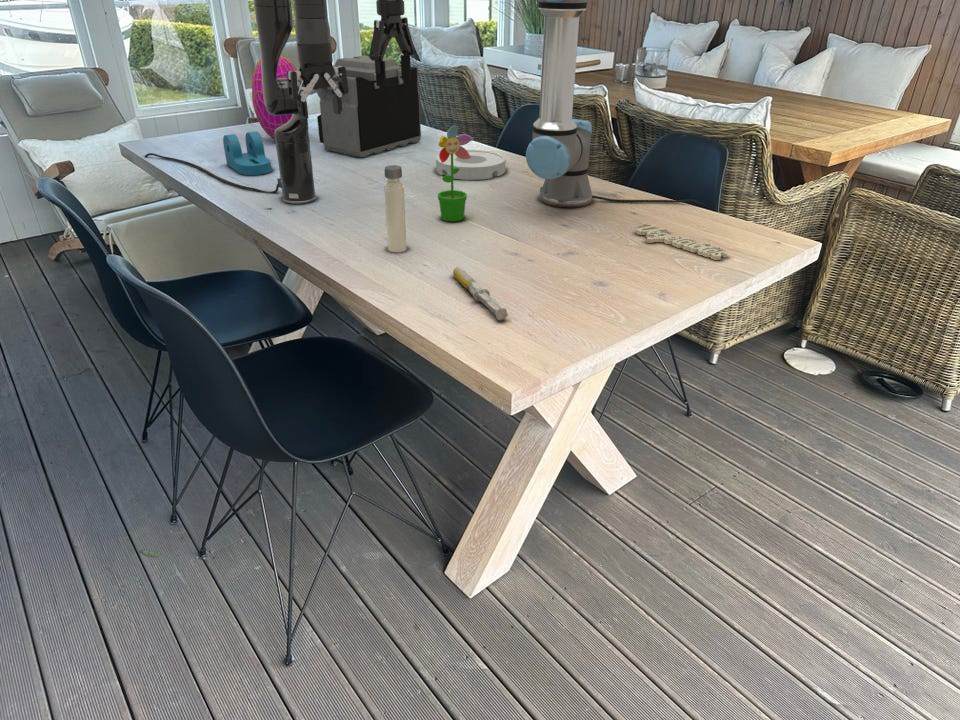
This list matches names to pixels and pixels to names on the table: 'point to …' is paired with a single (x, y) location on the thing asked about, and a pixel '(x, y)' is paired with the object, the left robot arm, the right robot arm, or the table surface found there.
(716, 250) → the decorative sign
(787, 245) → the table surface
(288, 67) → the decorative egg
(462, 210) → the potted flower
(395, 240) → the bottle
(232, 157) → the camera mount
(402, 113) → the electronic device
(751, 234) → the table surface
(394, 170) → the cap
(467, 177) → the ashtray
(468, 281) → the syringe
